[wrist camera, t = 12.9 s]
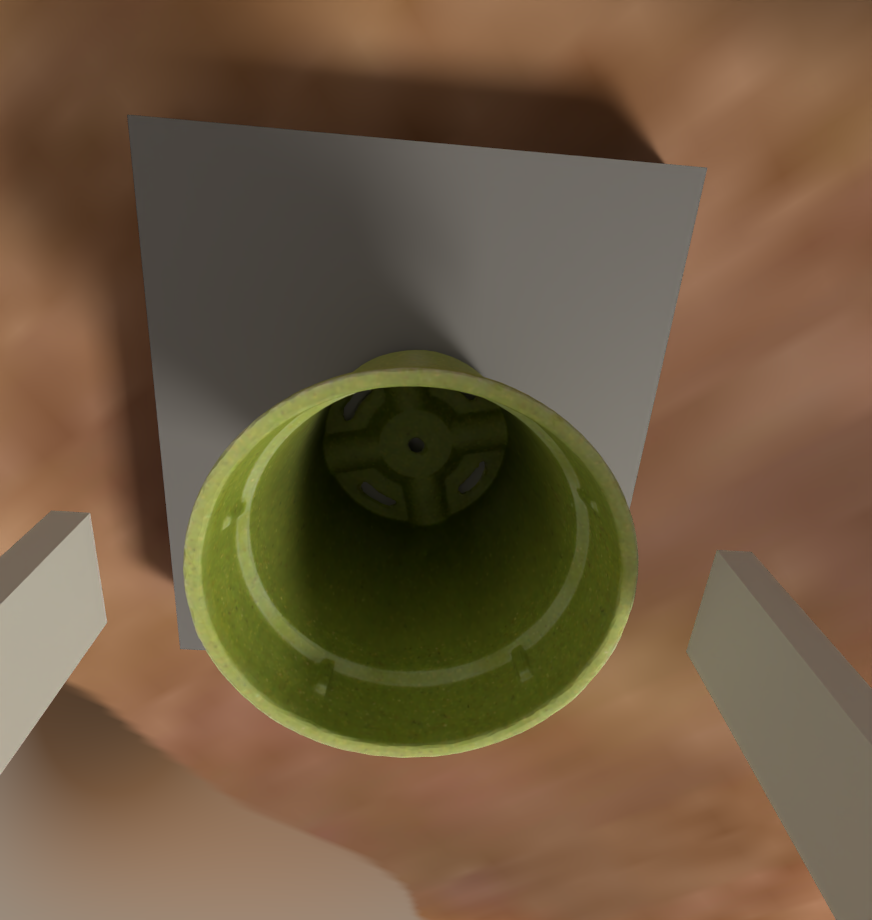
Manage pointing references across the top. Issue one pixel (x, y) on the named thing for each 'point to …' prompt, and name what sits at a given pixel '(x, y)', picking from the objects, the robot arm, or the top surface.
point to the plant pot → (410, 561)
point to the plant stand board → (396, 281)
